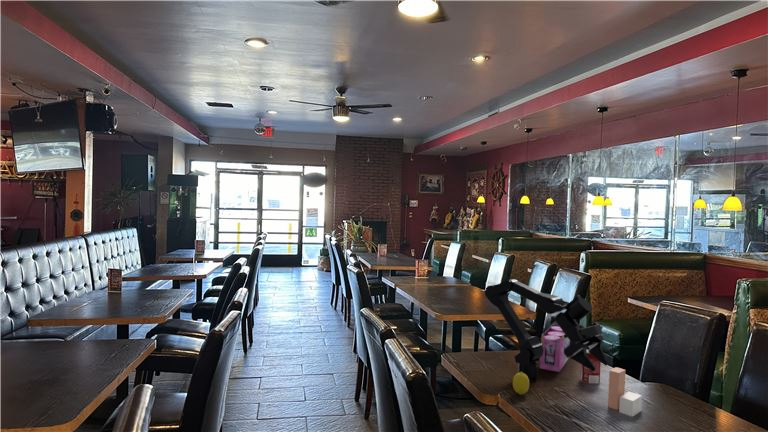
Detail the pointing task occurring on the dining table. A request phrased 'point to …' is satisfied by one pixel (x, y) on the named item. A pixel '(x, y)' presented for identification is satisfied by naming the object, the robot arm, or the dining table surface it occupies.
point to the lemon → (521, 383)
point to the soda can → (589, 375)
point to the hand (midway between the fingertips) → (600, 367)
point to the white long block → (630, 403)
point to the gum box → (553, 349)
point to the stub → (616, 387)
